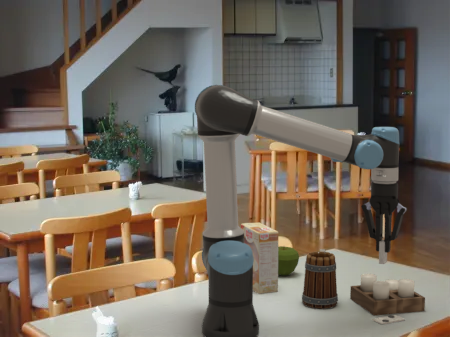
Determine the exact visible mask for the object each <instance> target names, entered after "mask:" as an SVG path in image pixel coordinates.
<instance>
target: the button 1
mask: <svg viewBox="0 0 450 337" xmlns="http://www.w3.org/2000/svg"><path fill="white" fill-rule="evenodd" d="M377 276H378V275H376V274H372V273H363V274H361V275H360V285H361V291H362V292H373V282H375V281H378V280H377Z"/></svg>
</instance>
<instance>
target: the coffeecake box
mask: <svg viewBox="0 0 450 337" xmlns="http://www.w3.org/2000/svg"><path fill="white" fill-rule="evenodd" d="M240 228H241V229H243V230H244V242H245V244H247V245H249V246H250V247H251V249H252V251H253V257H254V262H253V292H255V293H256V294H258V295H264V294H270V293H271V294H272V293H278V292H279V275H278V247H279V234H280V233H279V231H278V230H275V229H274V228H272V227H270V226H268V225H265V224H264V223H261V222H260V221H259V222H244V223H243V222H242V223H241V224H240Z"/></svg>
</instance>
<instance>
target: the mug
mask: <svg viewBox="0 0 450 337" xmlns="http://www.w3.org/2000/svg"><path fill="white" fill-rule="evenodd" d="M304 263H305V264H304V268H305V270H304V281H303V290H302V291H303V292H302V294H301V295H302V296H301V298H302V299H301V300H302V303H303V305H305V306H306V307H308V308H311V309H319V310H324V309H325V310H326V309H332V308H334V307H336V306H337V304H338V301H339V297H338V296H339V295H338V293H337V292H338V290H337V289H338V287H337V262H336V257H335V255H334V253H333V252H328V251H326V249H322V248H320V249H319V252H318V251H310V252H308V253H307V254H306V257H305V262H304Z"/></svg>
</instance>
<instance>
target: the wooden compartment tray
mask: <svg viewBox="0 0 450 337" xmlns="http://www.w3.org/2000/svg"><path fill="white" fill-rule="evenodd" d="M349 294H350V295H349V296H350V297H349V299H350V300H351V301H353V302H354V303H356V304H357V305H358V306H360V307H361V308H362V309H364V310H365V311H367V312H368V313H370V314H371V315H372V316H374V317H375V316H383V315H397V314H405V313H416V312H425V309H426V297H425V296H423V295H421V294H420V293H418V292H416V291H414V297H413V298H400V297H398V290H389V300H377V301H376V300H374V299H373V292H362V291H361V284H360V285H358V284H357V285H350V293H349Z"/></svg>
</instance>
